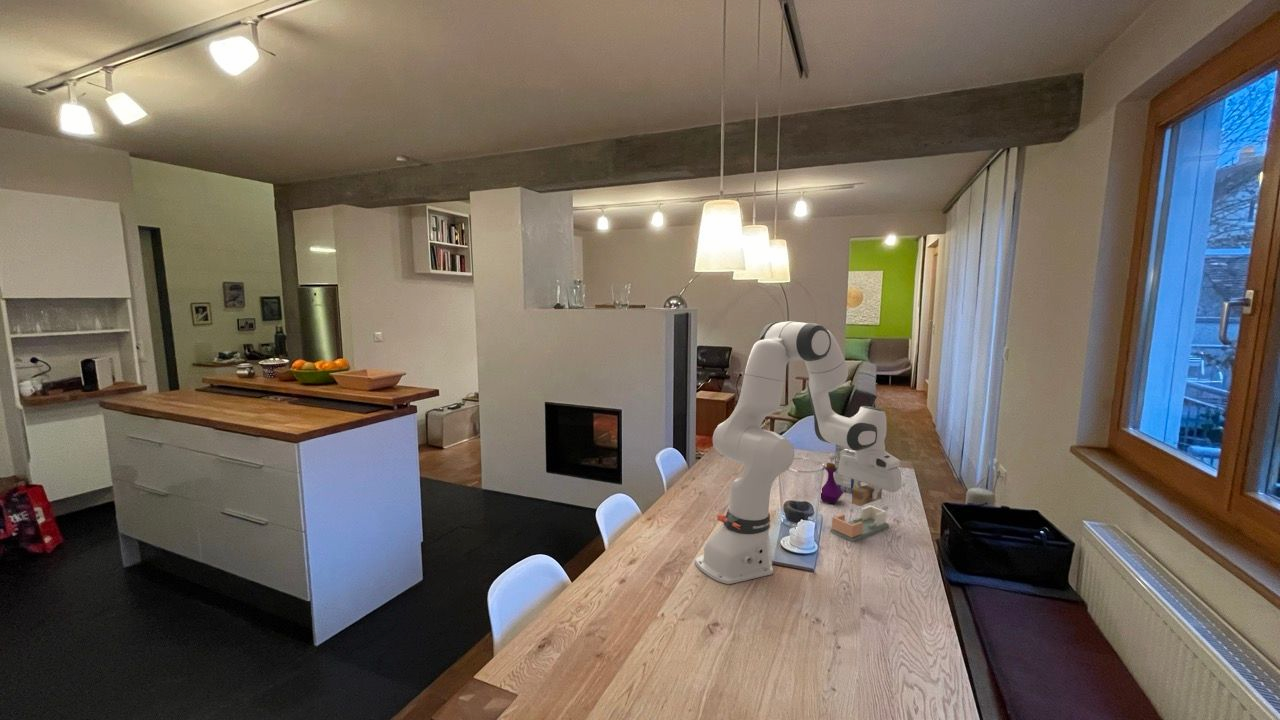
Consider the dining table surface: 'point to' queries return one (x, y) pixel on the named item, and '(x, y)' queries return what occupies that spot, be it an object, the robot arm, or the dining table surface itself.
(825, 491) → the perfume bottle
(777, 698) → the dining table surface
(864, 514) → the grey slotted holder
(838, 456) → the beverage box
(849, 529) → the cap
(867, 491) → the brown rectangular block
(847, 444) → the robot arm
